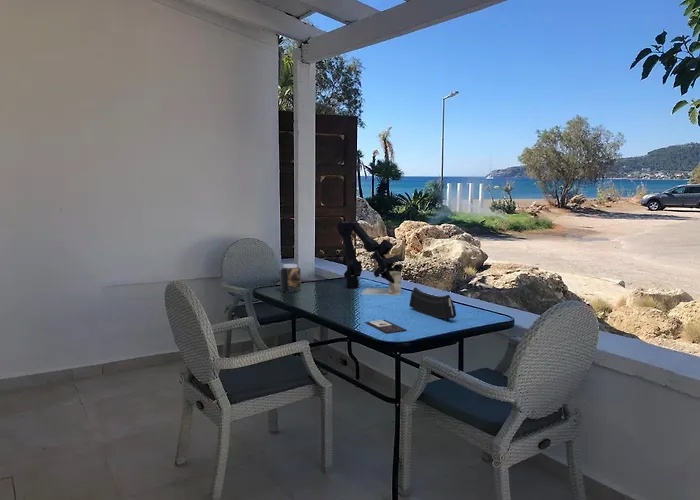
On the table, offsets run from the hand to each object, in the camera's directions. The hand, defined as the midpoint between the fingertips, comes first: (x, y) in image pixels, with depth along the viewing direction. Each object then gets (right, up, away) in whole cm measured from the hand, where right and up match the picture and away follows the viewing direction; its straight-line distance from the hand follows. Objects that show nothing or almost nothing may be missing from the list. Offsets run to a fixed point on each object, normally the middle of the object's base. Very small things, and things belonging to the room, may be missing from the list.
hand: (396, 282), depth 264 cm
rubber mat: (-7, -6, +10) cm, 14 cm away
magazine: (+11, -12, -44) cm, 47 cm away
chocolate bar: (-11, -15, -63) cm, 66 cm away
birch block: (-1, -6, +2) cm, 7 cm away
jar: (-59, -6, +17) cm, 62 cm away
